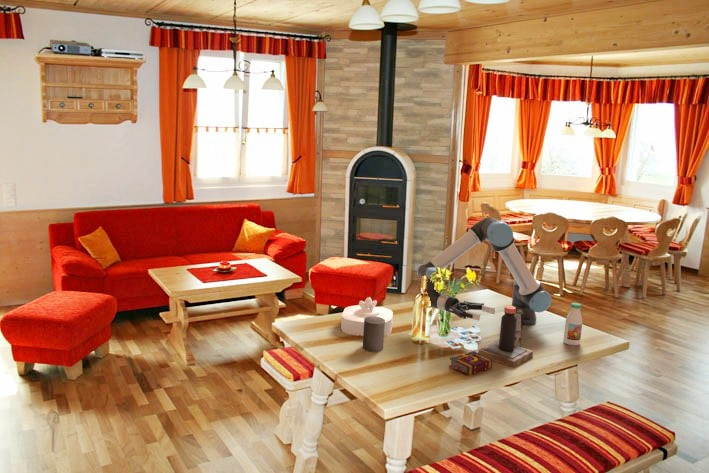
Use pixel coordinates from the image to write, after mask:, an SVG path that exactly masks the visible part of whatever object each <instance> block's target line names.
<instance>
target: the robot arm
mask: <svg viewBox="0 0 709 473" xmlns="http://www.w3.org/2000/svg"><path fill="white" fill-rule="evenodd" d="M486 241H488V243H489V245H490V247H491V248H492V251H494V252H497V253H499V256H500V257H501V258H502V261H503V262H504V264H505V265H506V267H507V269H508V270H509V273H511V276H512V277H513V278H514V280H513V288H512V298H511V299H512V300H511V306H514V307H515V308H521V309H523V312H524V318H523V325H524V326H525V325H527V326H529V325H534V324H536V323H537V314H536V313H543V312H545V311H547V310H548V309H549V308H550V306H551V304H552V295H551V294H550V292H548V291H546V290H545V288H544V287H543V285H542V283H541V281H540V280H537V279H535V277H534V276H533V274H532V273H531V270H530V268H529V267H528V265H527V264H526V262H525V260H524V259H523V257H522V255H521V254H520V251H519V250H518V248H517V247H516V245H515V241H516V238H515V237H514V231H513V229H512V227H511V226H510V225H509V224H508V223H507V222H505V221H502V220H500V219H497V218H496V217H491V216H490V217H484V218H481V219H480V220H479V221H477V222H475V223H474V224H473V225H471V227H469V228H468V230H467V232H466V233H465V234H464V235H462V236H461V237H460V238H458V239H457V240H456V241H454V242H453V243H451V245H449V246H448V247H446V248H445V249H443V250H442V251H441V252H440V253H439V254H437V255H436V256H435V257H433V258H432V259H431V260H430V261H428V262H426V263H421V264H420V265H418V267H417V269H416V274H417V276H418V277H419V278H420V279H421V280H422V276H424V275H426V276H428V282H427V293H428V296H429V297H430V301H431V308H434V309H437V310H441V309H442V310H444V311H445V310H446V311H445V312H447V311H448V313H450V314H451V313H452V314H454V315H455V316H457V317H459V318H461V319H463V320H466V319H467V318H468V319H470V320H471V319H472V320H475V321H478V322H480V319H481V314H479V313H475V312H471V310H472V311H474V310H476V311H482V312H485V313H487V314H488V313H489V314H492V315H495V312H496V308H494V307H491V306H487V305H485V303H484V302H473V301H467V300H464V301H461V302H460V300H459V299H458V298H457V297H454V296H450V297H449V298H448V296H449V295H448V296H443V297H441V294H442V293H441V292H440V293H438V292H436V290H434V284H433V283H432V281H431V282H430V275H431V274H432V273H433V272H436V271H435V270H436V266H435V263H436V264H437V265H438V266H439V267H440V268H444V267H445V268H446V267H448V266H450V265H451V264H452V263H453V262H455V261H456V260H457V259H459V258H460V257H461V256H463V255H464V254H465V253H467V252H468V251H469V250H471V249H472V248H473V247H474V246H475V245H478V244H479V245H481V244H482V243H484V242H486ZM445 268H444V269H445ZM442 310H441V311H442ZM469 310H470V311H469ZM444 311H443V312H444Z"/></svg>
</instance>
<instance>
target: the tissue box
mask: <svg viewBox="0 0 709 473" xmlns="http://www.w3.org/2000/svg"><path fill="white" fill-rule="evenodd" d="M377 303H378V301H377V300H376V299H374V300H372V298H371V296H369V297H366V299H365V300H364V301H363V300H359V302H358V304H357V305H350V306H346V307H345V308H344V310H343V312H342V313H341V322H340V323H341V325H340V329H342V330H341V332H343V333H345V334H347V333H348V334H347V335H351V334H352V336H359V335H361V336H362V337H363V332H364V319H365V318H366V317H371V316H374V317H380V318H383V319H384V320H385V329H384V337H387V336H389V335H391V333H392V330H393V321H394V320H393V318H394V312H393V311H392V310H391V309H390V308H389V309H388V308H386V307H383V306H377ZM361 336H360V337H361Z"/></svg>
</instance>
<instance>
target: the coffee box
mask: <svg viewBox="0 0 709 473" xmlns="http://www.w3.org/2000/svg"><path fill="white" fill-rule="evenodd" d="M515 317H516V318H517V324H516V334H515V343H514V345H516V346H519V347H521V345H522V344H521V343H522V335H523V328H524V327H523V318H524V312H523V309H521V308H516V312H515Z"/></svg>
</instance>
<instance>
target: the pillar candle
mask: <svg viewBox="0 0 709 473" xmlns="http://www.w3.org/2000/svg"><path fill="white" fill-rule="evenodd" d="M384 329H385V320H384V319H383V318H380V317H374V316H371V317H366V318H365V319H364V332H363V336H362V350H365V351H367V352H372V353H375V352H377V353H378V352H381V351H383V350H384V341H385V340H384V339H385V336H384Z"/></svg>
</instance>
